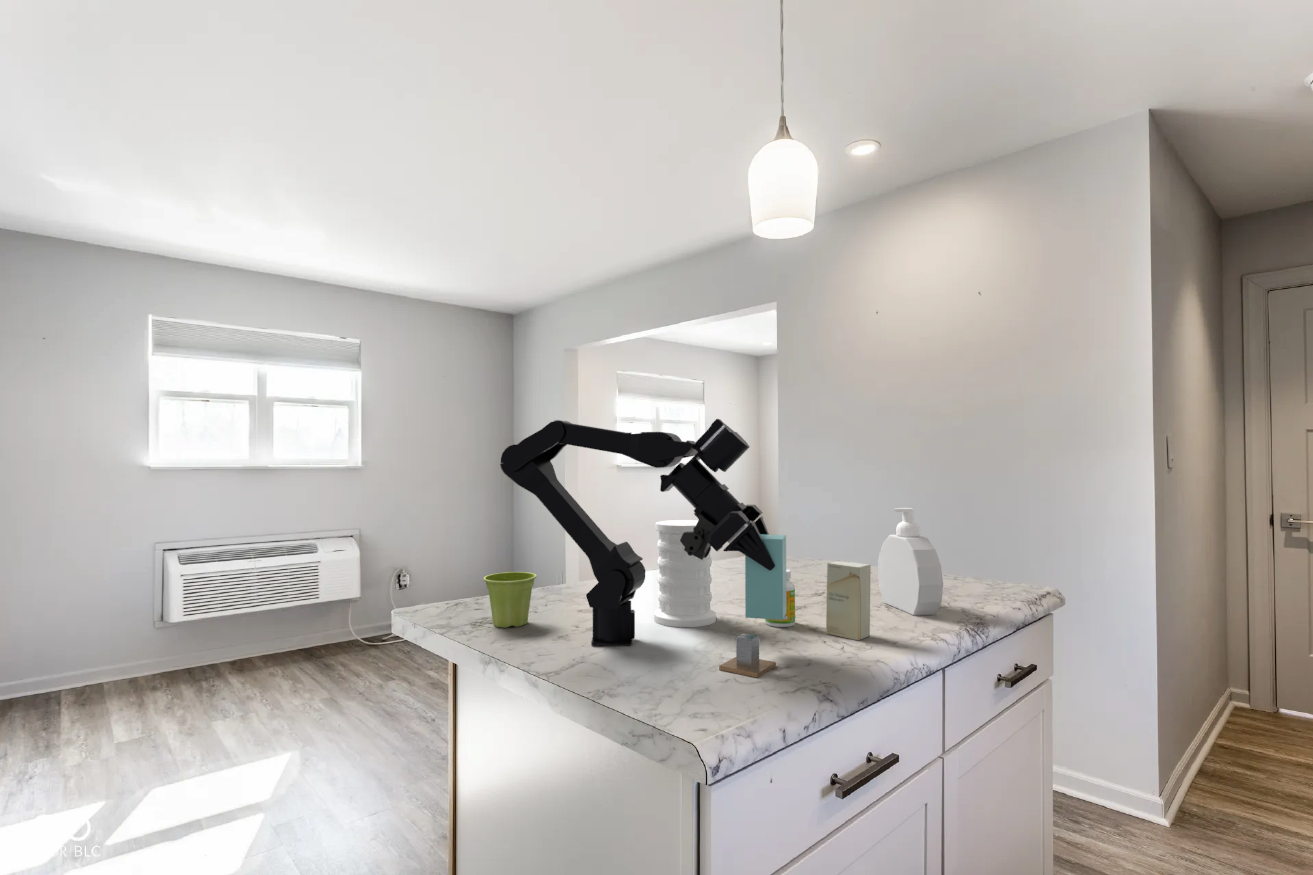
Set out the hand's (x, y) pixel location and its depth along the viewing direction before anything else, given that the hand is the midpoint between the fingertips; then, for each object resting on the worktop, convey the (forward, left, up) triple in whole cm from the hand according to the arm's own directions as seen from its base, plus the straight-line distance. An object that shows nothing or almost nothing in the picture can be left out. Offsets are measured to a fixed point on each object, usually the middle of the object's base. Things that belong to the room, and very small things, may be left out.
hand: (775, 565), depth 103 cm
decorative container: (-12, +22, -14) cm, 29 cm away
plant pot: (-44, +20, -14) cm, 51 cm away
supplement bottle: (+5, +18, -14) cm, 23 cm away
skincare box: (+15, +10, -14) cm, 23 cm away
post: (-5, -7, -13) cm, 16 cm away
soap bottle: (+33, +29, -14) cm, 46 cm away
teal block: (-1, 0, -8) cm, 8 cm away
